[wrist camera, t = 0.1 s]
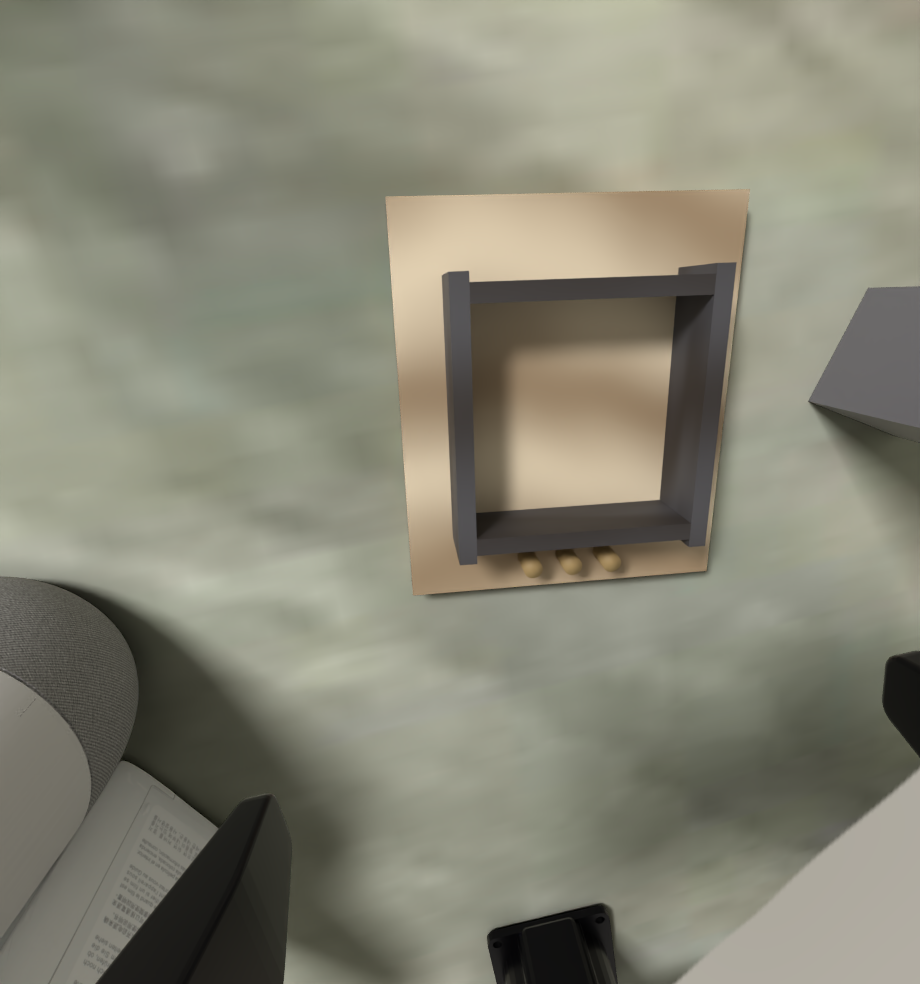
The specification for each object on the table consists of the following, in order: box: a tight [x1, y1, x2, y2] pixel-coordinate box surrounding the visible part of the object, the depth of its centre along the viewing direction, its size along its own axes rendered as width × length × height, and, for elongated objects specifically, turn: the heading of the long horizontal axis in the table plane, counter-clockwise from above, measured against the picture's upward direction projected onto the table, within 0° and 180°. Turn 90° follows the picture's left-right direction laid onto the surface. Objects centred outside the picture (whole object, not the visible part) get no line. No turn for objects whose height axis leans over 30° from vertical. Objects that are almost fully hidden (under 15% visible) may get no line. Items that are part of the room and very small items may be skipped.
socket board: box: [386, 189, 750, 595], centre depth 20 cm, size 14×12×4 cm
